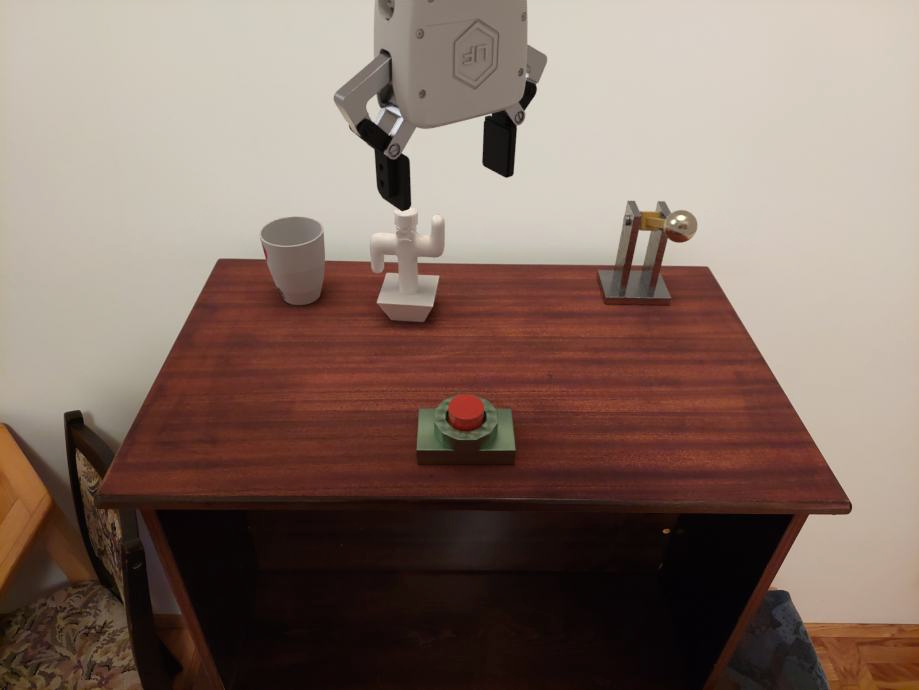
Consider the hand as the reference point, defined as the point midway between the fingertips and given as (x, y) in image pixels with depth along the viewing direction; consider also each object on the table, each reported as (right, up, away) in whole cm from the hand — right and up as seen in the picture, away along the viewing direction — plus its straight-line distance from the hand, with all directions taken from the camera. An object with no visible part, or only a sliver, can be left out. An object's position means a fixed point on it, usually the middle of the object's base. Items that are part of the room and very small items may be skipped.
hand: (448, 186), depth 49 cm
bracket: (+25, -4, +42) cm, 50 cm away
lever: (+25, +1, +29) cm, 39 cm away
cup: (-21, -5, +40) cm, 46 cm away
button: (+1, -20, +17) cm, 26 cm away
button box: (+1, -22, +19) cm, 29 cm away
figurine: (-6, -8, +38) cm, 39 cm away
